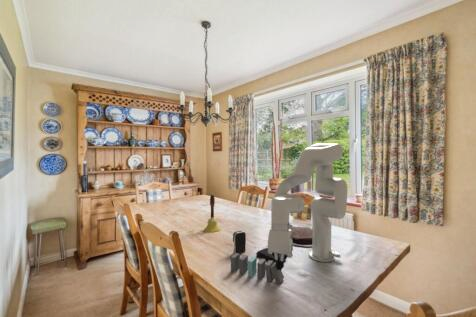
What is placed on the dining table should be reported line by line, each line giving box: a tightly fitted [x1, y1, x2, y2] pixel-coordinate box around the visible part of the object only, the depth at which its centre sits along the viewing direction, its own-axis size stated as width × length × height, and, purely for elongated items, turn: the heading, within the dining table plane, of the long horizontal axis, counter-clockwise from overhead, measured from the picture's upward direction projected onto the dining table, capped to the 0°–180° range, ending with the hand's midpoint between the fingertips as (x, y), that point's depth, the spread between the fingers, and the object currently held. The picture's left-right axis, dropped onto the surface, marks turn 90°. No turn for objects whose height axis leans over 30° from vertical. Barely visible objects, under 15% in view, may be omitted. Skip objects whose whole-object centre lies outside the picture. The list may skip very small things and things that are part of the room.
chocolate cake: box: [290, 226, 312, 248], centre depth 150 cm, size 28×28×7 cm
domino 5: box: [265, 260, 275, 283], centre depth 102 cm, size 2×5×7 cm, turn 153°
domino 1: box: [230, 253, 241, 274], centre depth 109 cm, size 2×5×7 cm, turn 153°
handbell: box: [203, 194, 222, 234], centre depth 167 cm, size 12×12×25 cm
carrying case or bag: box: [255, 247, 287, 263], centre depth 123 cm, size 11×3×15 cm
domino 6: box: [270, 262, 285, 285], centre depth 100 cm, size 2×5×7 cm, turn 153°
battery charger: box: [232, 230, 247, 254], centre depth 130 cm, size 7×4×11 cm, turn 122°
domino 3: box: [247, 256, 258, 278], centre depth 105 cm, size 2×5×7 cm, turn 152°
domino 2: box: [238, 254, 249, 276], centre depth 107 cm, size 2×5×7 cm, turn 153°
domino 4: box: [256, 258, 267, 281], centre depth 103 cm, size 2×5×7 cm, turn 153°
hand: (279, 268), depth 100 cm, fingers closed
